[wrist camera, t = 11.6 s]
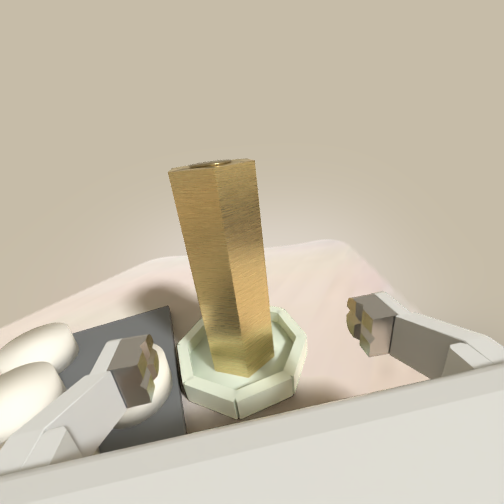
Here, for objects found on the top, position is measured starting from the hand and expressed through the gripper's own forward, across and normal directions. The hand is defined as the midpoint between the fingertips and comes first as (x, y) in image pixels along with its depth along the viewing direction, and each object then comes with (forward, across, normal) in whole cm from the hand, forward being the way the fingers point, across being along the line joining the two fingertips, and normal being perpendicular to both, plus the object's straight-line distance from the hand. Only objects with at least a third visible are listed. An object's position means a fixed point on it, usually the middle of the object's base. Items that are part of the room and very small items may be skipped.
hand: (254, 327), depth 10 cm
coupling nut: (+6, -1, -7) cm, 9 cm away
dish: (+6, 0, -7) cm, 10 cm away
